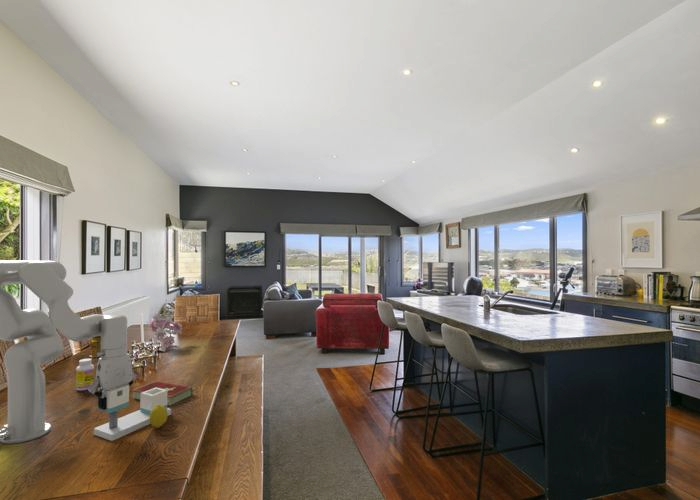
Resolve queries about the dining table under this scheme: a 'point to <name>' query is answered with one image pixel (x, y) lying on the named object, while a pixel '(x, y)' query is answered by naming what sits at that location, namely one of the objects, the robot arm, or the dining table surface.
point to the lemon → (158, 416)
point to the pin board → (123, 424)
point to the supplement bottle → (84, 374)
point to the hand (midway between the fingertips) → (113, 404)
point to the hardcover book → (173, 391)
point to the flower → (160, 325)
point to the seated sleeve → (152, 399)
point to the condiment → (95, 346)
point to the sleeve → (117, 398)
